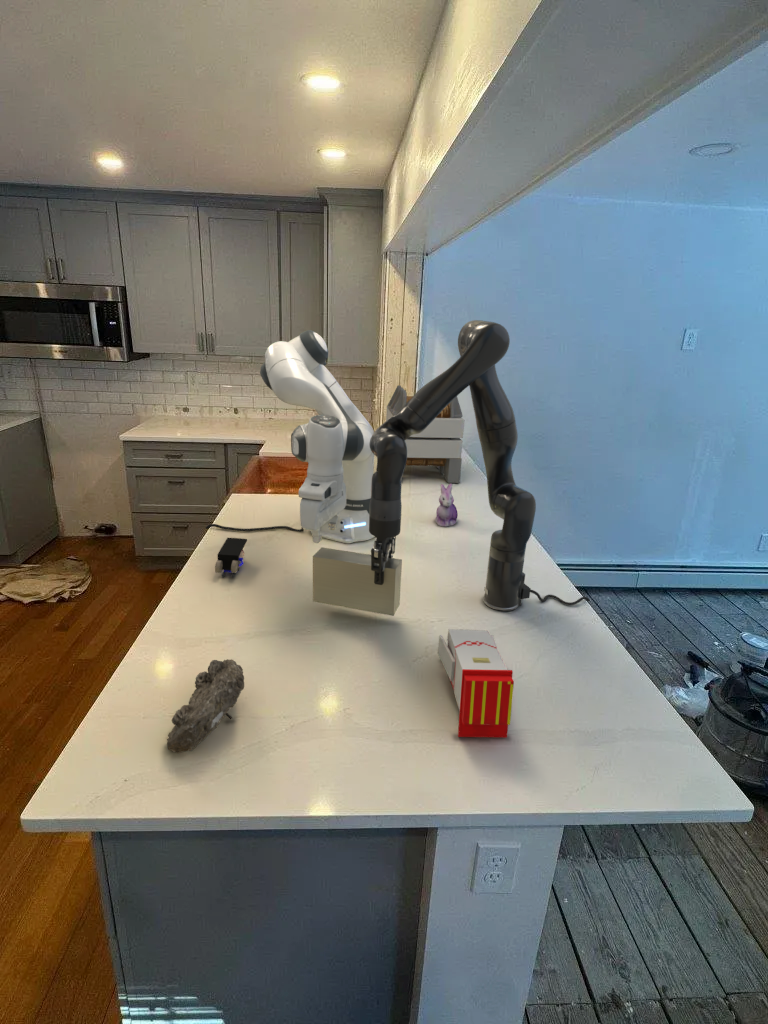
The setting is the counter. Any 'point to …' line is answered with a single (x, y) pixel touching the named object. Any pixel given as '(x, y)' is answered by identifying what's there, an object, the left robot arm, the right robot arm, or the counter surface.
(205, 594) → the counter surface
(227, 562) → the toy car
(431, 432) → the transformer
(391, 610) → the box
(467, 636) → the toy
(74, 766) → the counter surface
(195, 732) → the fossil
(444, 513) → the figurine
